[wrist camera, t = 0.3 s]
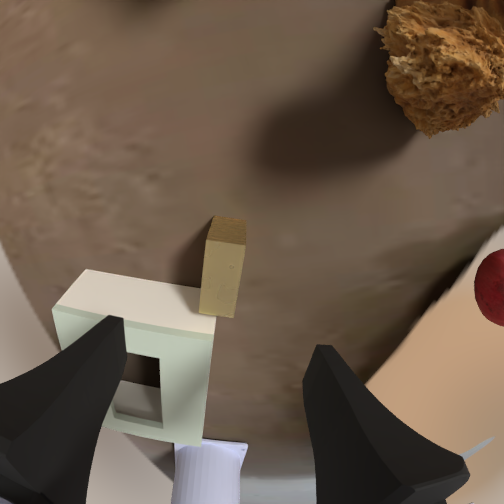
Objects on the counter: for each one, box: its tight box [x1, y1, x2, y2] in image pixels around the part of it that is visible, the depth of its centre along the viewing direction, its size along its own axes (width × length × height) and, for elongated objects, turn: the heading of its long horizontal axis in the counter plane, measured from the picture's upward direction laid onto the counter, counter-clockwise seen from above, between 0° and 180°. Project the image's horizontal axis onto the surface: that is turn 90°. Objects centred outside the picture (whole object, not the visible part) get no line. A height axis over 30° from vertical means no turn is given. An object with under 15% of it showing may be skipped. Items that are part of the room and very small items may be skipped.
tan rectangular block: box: [199, 216, 246, 318], centre depth 19 cm, size 4×2×4 cm, turn 171°
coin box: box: [52, 269, 216, 447], centre depth 21 cm, size 12×10×5 cm
